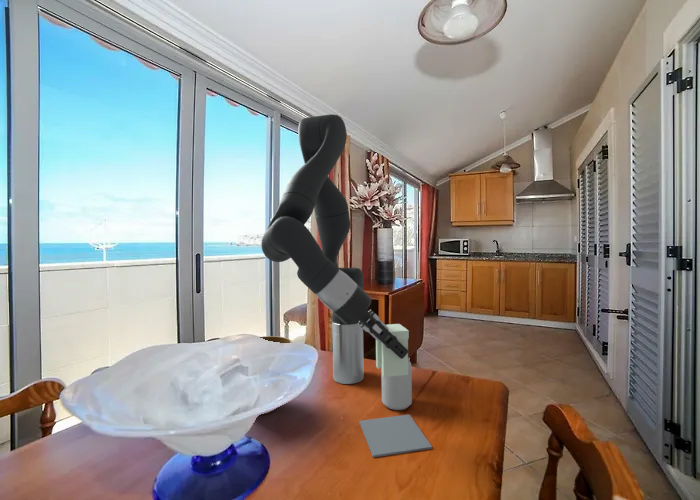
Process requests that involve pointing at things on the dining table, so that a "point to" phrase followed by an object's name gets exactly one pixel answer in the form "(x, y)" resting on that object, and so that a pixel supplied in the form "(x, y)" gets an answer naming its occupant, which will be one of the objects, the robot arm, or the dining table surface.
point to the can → (397, 390)
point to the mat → (393, 435)
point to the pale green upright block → (392, 353)
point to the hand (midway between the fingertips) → (399, 349)
